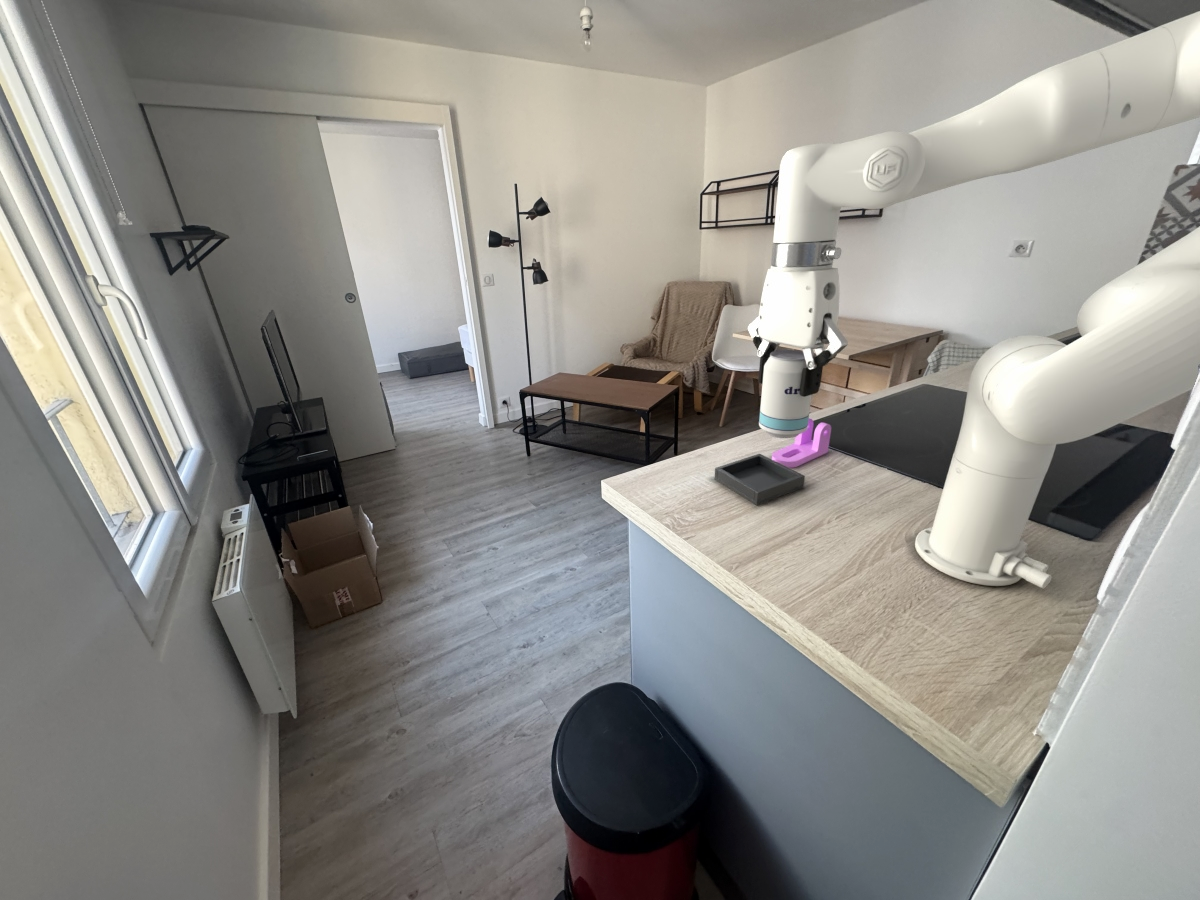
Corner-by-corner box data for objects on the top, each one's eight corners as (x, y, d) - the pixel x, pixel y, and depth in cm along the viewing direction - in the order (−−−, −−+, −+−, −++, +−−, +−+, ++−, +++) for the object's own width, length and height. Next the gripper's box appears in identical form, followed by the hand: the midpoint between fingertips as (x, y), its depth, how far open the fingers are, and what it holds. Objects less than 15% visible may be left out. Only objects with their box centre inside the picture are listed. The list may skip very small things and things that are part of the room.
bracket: (804, 444, 105) (808, 415, 102) (827, 452, 100) (832, 422, 97) (766, 460, 99) (769, 430, 96) (788, 470, 94) (792, 438, 91)
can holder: (803, 487, 88) (805, 475, 87) (756, 505, 83) (758, 493, 82) (758, 464, 97) (759, 453, 96) (714, 479, 93) (714, 467, 92)
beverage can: (777, 444, 68) (786, 363, 62) (749, 428, 74) (755, 352, 68) (816, 436, 69) (828, 356, 64) (786, 420, 75) (794, 346, 70)
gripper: (884, 255, 56) (858, 397, 63) (771, 254, 70) (761, 370, 77) (842, 260, 52) (820, 409, 60) (733, 258, 66) (726, 379, 74)
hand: (787, 386), depth 68 cm, fingers closed on beverage can, 7 cm apart
